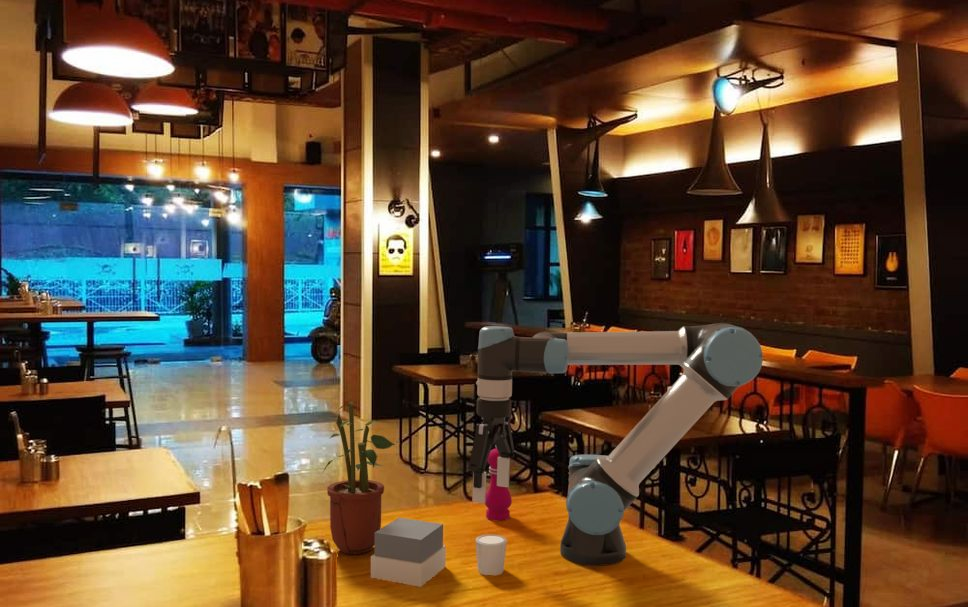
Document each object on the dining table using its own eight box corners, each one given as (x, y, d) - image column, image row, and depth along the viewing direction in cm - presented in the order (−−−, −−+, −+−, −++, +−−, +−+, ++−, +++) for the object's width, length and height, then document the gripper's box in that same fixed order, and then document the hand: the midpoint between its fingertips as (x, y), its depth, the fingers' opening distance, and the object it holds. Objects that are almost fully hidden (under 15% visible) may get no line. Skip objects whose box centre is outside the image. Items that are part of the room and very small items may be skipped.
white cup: (494, 579, 170) (494, 547, 169) (468, 571, 174) (469, 540, 174) (512, 569, 175) (513, 538, 175) (487, 562, 179) (488, 531, 179)
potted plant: (368, 563, 178) (368, 408, 176) (307, 554, 183) (307, 403, 181) (400, 538, 194) (401, 396, 193) (344, 530, 199) (344, 392, 198)
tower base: (445, 568, 176) (445, 546, 176) (421, 588, 165) (421, 564, 165) (397, 560, 181) (397, 538, 181) (370, 579, 170) (370, 556, 170)
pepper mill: (482, 520, 208) (483, 445, 207) (486, 512, 216) (487, 439, 215) (509, 522, 207) (510, 446, 206) (513, 514, 214) (514, 440, 213)
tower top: (442, 546, 176) (443, 524, 176) (420, 563, 166) (421, 539, 166) (398, 539, 180) (398, 517, 180) (374, 555, 170) (374, 532, 170)
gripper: (499, 388, 186) (497, 478, 187) (453, 404, 163) (451, 506, 164) (530, 391, 183) (527, 482, 184) (487, 408, 160) (484, 512, 161)
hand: (491, 494), depth 174 cm, fingers open, 13 cm apart
